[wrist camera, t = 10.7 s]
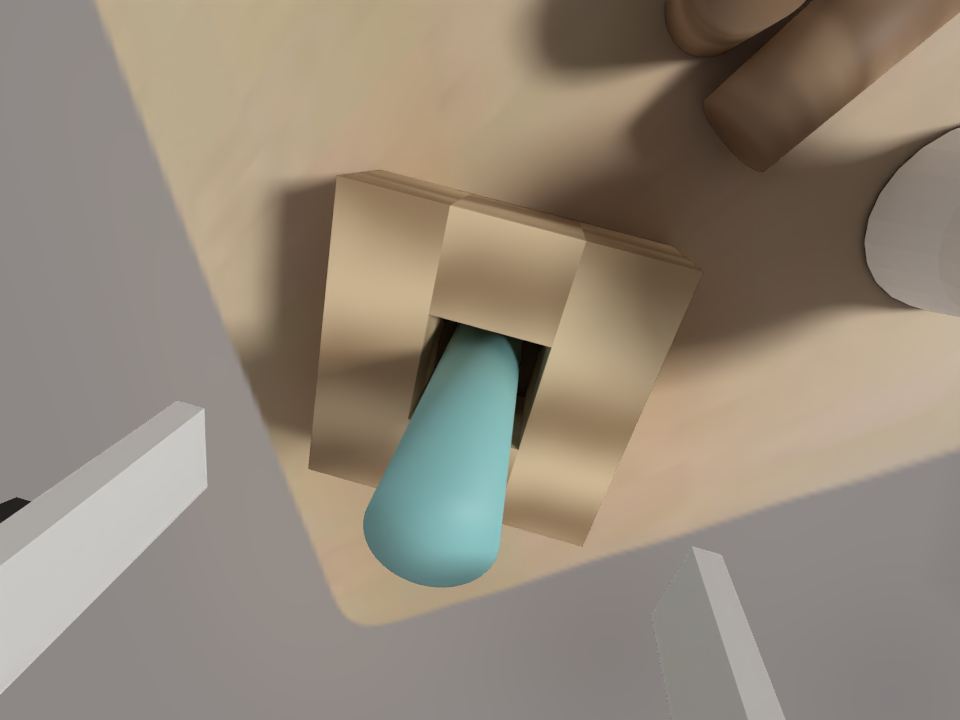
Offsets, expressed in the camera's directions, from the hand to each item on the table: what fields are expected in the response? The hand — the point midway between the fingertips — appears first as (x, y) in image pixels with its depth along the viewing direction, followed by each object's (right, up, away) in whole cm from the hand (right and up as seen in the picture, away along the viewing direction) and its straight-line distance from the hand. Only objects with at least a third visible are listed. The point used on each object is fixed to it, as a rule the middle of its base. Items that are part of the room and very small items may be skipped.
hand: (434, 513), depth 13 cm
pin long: (+2, +5, +12) cm, 14 cm away
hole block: (+2, +5, +12) cm, 14 cm away
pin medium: (+11, +13, +6) cm, 18 cm away
